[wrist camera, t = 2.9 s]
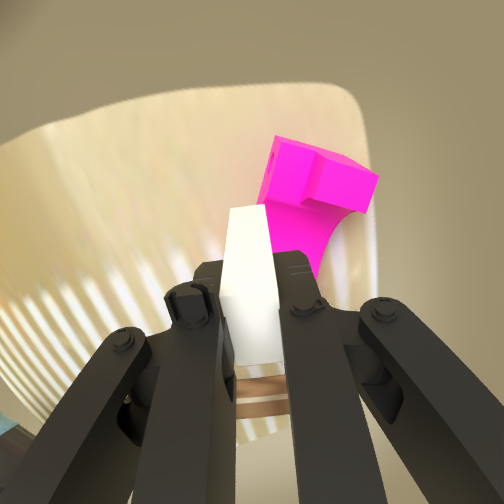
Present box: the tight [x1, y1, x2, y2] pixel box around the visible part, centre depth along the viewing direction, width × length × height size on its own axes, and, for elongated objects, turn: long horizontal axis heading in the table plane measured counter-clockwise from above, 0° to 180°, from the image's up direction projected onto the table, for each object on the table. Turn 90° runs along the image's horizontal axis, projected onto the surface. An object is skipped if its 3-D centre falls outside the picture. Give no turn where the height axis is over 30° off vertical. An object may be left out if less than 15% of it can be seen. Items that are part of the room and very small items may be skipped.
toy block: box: [256, 135, 379, 280], centre depth 24 cm, size 15×6×8 cm, turn 166°
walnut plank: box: [236, 375, 290, 419], centre depth 36 cm, size 16×5×3 cm, turn 98°
